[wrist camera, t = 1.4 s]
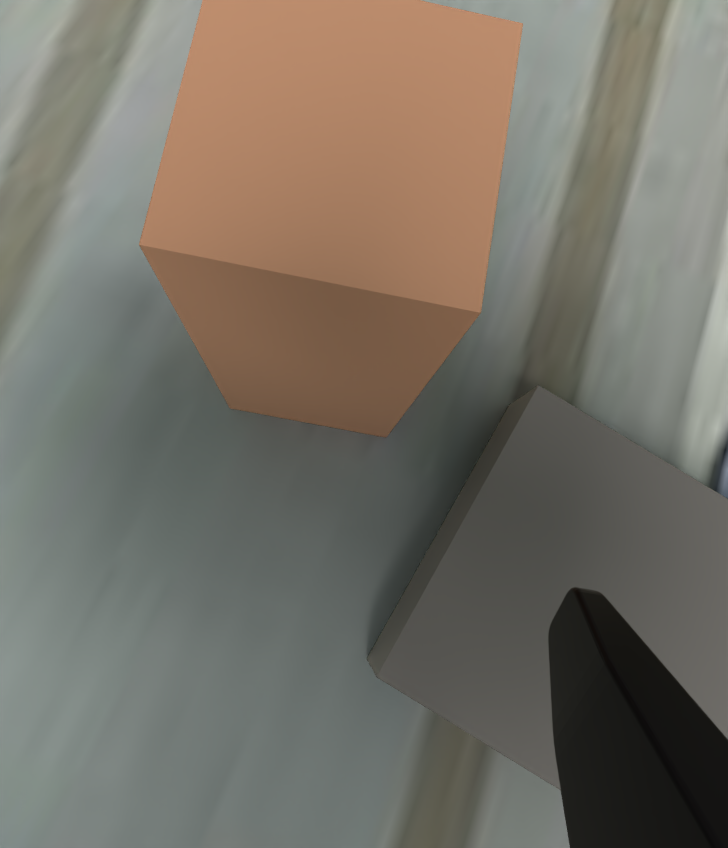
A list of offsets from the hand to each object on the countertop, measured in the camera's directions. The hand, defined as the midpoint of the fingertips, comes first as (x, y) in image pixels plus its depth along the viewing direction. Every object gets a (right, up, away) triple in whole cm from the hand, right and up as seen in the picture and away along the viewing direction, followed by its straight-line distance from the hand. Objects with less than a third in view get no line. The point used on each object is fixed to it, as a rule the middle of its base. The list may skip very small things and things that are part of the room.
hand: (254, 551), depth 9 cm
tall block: (0, +4, +14) cm, 15 cm away
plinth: (+8, -4, +13) cm, 16 cm away
